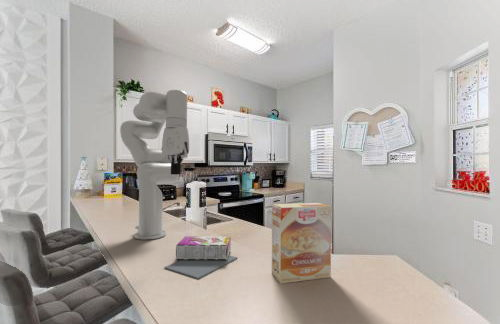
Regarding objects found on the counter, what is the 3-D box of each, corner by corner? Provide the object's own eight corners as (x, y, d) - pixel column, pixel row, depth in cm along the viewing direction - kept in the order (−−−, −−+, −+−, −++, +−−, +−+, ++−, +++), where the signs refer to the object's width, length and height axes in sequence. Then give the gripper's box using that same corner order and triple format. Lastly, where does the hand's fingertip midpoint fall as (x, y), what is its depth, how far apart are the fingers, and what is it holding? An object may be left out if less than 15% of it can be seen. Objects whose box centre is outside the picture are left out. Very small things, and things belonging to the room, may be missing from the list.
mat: (164, 268, 73) (164, 266, 73) (206, 251, 88) (206, 250, 88) (198, 279, 66) (198, 277, 66) (237, 258, 81) (237, 257, 81)
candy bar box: (185, 235, 90) (230, 235, 89) (184, 249, 89) (230, 249, 89) (175, 244, 78) (227, 244, 78) (175, 260, 78) (227, 261, 78)
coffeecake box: (280, 284, 63) (280, 207, 64) (270, 273, 70) (271, 203, 71) (332, 277, 67) (331, 205, 68) (318, 267, 74) (318, 201, 75)
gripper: (154, 124, 93) (153, 174, 93) (183, 121, 85) (182, 174, 85) (170, 127, 99) (170, 173, 99) (198, 124, 92) (197, 174, 91)
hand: (175, 174), depth 92 cm, fingers closed
